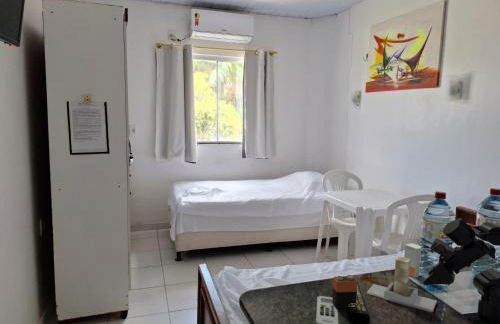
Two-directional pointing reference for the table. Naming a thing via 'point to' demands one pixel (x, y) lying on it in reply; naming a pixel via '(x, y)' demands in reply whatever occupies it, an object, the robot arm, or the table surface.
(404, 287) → the ash hinge pin
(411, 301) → the grey base plate
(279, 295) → the table surface
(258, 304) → the table surface
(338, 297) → the battery
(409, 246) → the skincare box
